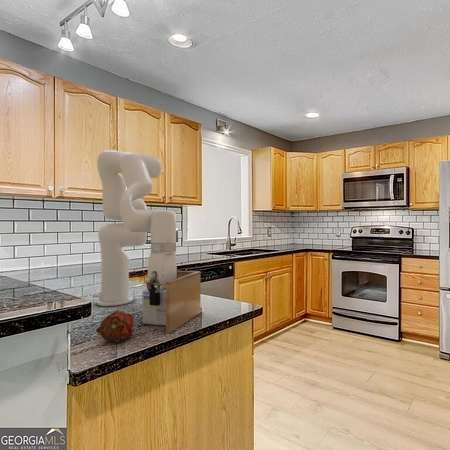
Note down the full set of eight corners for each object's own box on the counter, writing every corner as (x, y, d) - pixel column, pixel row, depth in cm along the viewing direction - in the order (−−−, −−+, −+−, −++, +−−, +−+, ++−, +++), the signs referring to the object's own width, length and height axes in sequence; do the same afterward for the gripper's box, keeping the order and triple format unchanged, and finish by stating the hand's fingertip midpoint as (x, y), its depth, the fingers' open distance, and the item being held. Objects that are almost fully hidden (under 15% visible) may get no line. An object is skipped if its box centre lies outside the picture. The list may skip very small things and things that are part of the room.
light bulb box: (184, 320, 106) (184, 287, 106) (172, 326, 100) (172, 291, 99) (155, 318, 108) (155, 286, 108) (141, 324, 102) (141, 290, 102)
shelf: (125, 330, 96) (124, 280, 96) (163, 311, 116) (163, 270, 116) (170, 332, 94) (169, 282, 94) (201, 313, 114) (200, 271, 114)
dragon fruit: (120, 353, 83) (109, 346, 92) (147, 327, 88) (134, 323, 97) (96, 330, 80) (87, 326, 89) (126, 305, 86) (115, 303, 94)
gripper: (167, 246, 113) (167, 295, 113) (135, 250, 96) (135, 308, 96) (187, 246, 112) (187, 295, 112) (159, 250, 95) (159, 309, 95)
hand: (163, 301), depth 104 cm, fingers open, 9 cm apart
